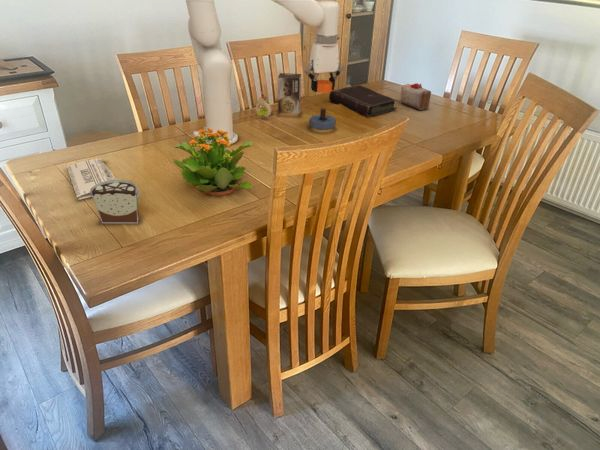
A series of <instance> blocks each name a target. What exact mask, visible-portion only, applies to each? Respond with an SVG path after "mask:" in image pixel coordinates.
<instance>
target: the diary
mask: <svg viewBox="0 0 600 450" xmlns="http://www.w3.org/2000/svg"><path fill="white" fill-rule="evenodd" d="M328 98H329V101H330V102H332V103H335V104H337V105H341V106H344V107H345V108H347V109H349V110H351V111H353V112H356V113H359V114H360V115H363V116H365V117H367V118H369V117H373V116H377V115H381V114H386V113H389V112H393V111H395V110H397V108H398V107H395V102H399V100H397V99H395V98H393V97H390V96H387V95H384V94H381V93H379V92H377V91H375V90H373V89H371V88H369V87H365V86H363V85H361V84H357V85H353V86H347V87H342V88H339V89H334V90H332V91H331V92H329V96H328Z"/></svg>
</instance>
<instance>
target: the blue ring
mask: <svg viewBox="0 0 600 450" xmlns="http://www.w3.org/2000/svg"><path fill="white" fill-rule="evenodd" d="M336 123H337V118H335V117H334V116H332V115H329V114H325V121H321V120H320V114H316V115H315V114H314V115H312V116H310V118H309V120H308V126H309V127H310V126H311V127H310V128H312V127H313V128H312V129H314V128H315V129H314V130H319V129H321V130H320V131H322V130H323V131H327V130H326V129H329V130H332V129H334V128H335V127H336V125H337V124H336ZM334 126H335V127H334ZM333 127H334V128H333Z"/></svg>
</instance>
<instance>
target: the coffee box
mask: <svg viewBox="0 0 600 450" xmlns="http://www.w3.org/2000/svg"><path fill="white" fill-rule="evenodd" d="M301 102H302V74H301V73H287V72H286V73H284V72H279V74H278V76H277V113H279V114H293V115H294V114H295V115H300V113H301V110H302V108H301V105H302V103H301Z"/></svg>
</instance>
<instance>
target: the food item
mask: <svg viewBox="0 0 600 450" xmlns="http://www.w3.org/2000/svg"><path fill="white" fill-rule="evenodd" d="M431 94H432V91H431V90H428V89H426V88H424V87H423V85H422V83H418V82H416V83H412V84H411V83H406V84H403V85H402V86H401V93H400V103H401V104H403V105H406V106H409V107H411V108H414V109H416V110H417V111H423V110H428V109H429V107H430V106H429V105H430V102H431Z"/></svg>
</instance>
